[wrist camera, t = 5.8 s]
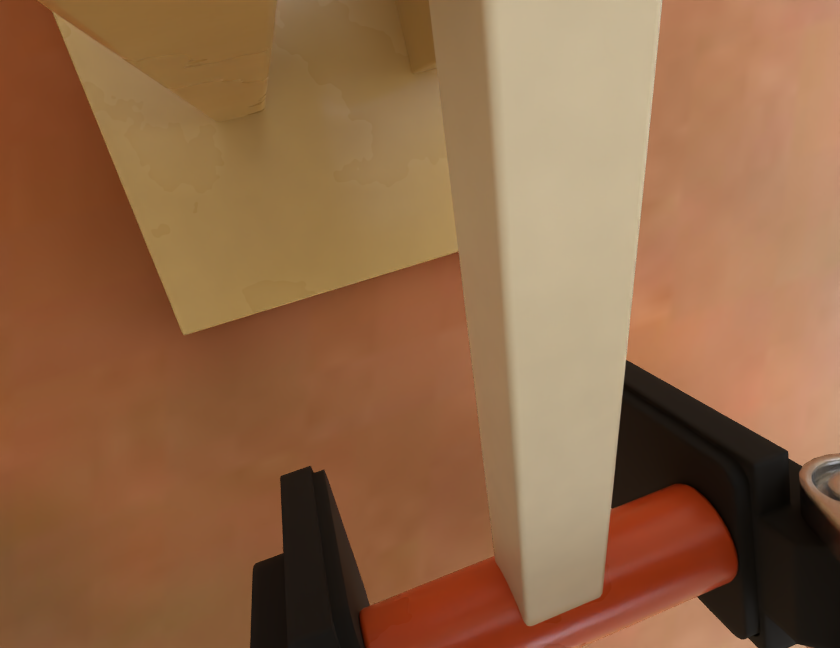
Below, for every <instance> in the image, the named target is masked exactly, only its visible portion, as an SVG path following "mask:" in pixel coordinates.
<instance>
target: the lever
mask: <svg viewBox="0 0 840 648" xmlns="http://www.w3.org/2000/svg"><path fill="white" fill-rule="evenodd" d="M429 6H430V15H431V23H432V32H433V40H434V49H435V57H436V65H437V74H438V82H439V91H440V99H441V108H442V116H443V125H444V133H445V142H446V150H447V159H448V167H449V175H450V184H451V192H452V201H453V209H454V218H455V226H456V235H457V243H458V252H459V260H460V269H461V277H462V285H463V294H464V302H465V311H466V319H467V328H468V336H469V345H470V353H471V362H472V370H473V379H474V387H475V395H476V404H477V412H478V421H479V429H480V438H481V446H482V455H483V463H484V472H485V480H486V488H487V497H488V505H489V514H490V522H491V531H492V539H493V548H494V556H493V557H491V558H488V559H486V560H483V561H481V562H478V563H476V564H473V565H471V566H468V567H466V568H463V569H461V570H458V571H456V572H453V573H451V574H448V575H446V576H443V577H440V578H438V579H435V580H433V581H430V582H428V583H425V584H423V585H420V586H418V587H415V588H413V589H410V590H408V591H405V592H403V593H400V594H398V595H395V596H393V597H390V598H388V599H385V600H383V601H380V602H378V603H375V604H373V605H370V606H368V607H365V608H363V609H362V610H361V611H360V612H359V622H360V628H361V633H362V638H363V642H364V646H365V648H581V647H583V646H586V645H588V644H590V643H592V642H595V641H597V640H599V639H602V638H604V637H606V636H608V635H611V634H613V633H615V632H618V631H620V630H622V629H624V628H627V627H629V626H631V625H634V624H636V623H638V622H640V621H643V620H645V619H647V618H650V617H652V616H654V615H656V614H659V613H661V612H663V611H666V610H668V609H670V608H672V607H675V606H677V605H679V604H681V603H684V602H686V601H688V600H691V599H693V598H695V597H697V596H700V595H702V594H704V593H707V592H709V591H711V590H713V589H716V588H718V587H720V586H723V585H725V584H727V583H729V582H731V581H732V580H733V579H734V578H735V576H736V575H737V572H738V556H737V552H736V548H735V545H734V542H733V539H732V537H731V535H730V533H729V531H728V529H727V527H726V525H725V523H724V521H723V520H722V518H721V517H720V515H719V513H718V512H717V511H716V509H715V508H714V507H713V506H712V504H711V503H710V502H709V501H708V500H707V499H706V498H705V497H704V496H703V495H702V494H701V493H700V492H699V491H697V490H696V489H694V488H693V487H691V486H689V485H686V484H673V485H671V486H668V487H666V488H663V489H661V490H658V491H656V492H653V493H651V494H648V495H646V496H643V497H641V498H638V499H636V500H633V501H631V502H628V503H626V504H623V505H621V506H618V507H616V508H613V509H611V503H612V493H613V484H614V474H615V464H616V454H617V444H618V434H619V424H620V414H621V404H622V395H623V385H624V375H625V365H626V355H627V345H628V335H629V325H630V315H631V306H632V296H633V286H634V276H635V266H636V256H637V246H638V236H639V227H640V217H641V207H642V197H643V187H644V177H645V167H646V157H647V147H648V138H649V128H650V118H651V108H652V98H653V88H654V78H655V68H656V58H657V49H658V39H659V29H660V19H661V9H662V0H429Z"/></svg>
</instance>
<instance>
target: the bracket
mask: <svg viewBox="0 0 840 648" xmlns="http://www.w3.org/2000/svg"><path fill="white" fill-rule="evenodd" d="M37 1H38V2H40V3H41V4H43V5H44V6H45V7H47V8H48V9H50V10H51V11H52V13H53V15H54V18H55V20H56V23H57V25H58V27H59V30H60V32H61V35H62V37H63V40H64V42H65V45H66V47H67V50H68V52H69V55H70V57H71V60H72V62H73V65H74V67H75V69H76V72H77V74H78V77H79V79H80V82H81V84H82V87H83V89H84V92H85V94H86V97H87V99H88V102H89V104H90V107H91V109H92V111H93V114H94V116H95V119H96V121H97V124H98V126H99V129H100V131H101V134H102V136H103V139H104V141H105V144H106V146H107V149H108V151H109V153H110V156H111V158H112V161H113V163H114V166H115V168H116V171H117V173H118V176H119V178H120V181H121V183H122V186H123V188H124V191H125V193H126V195H127V198H128V200H129V203H130V205H131V208H132V210H133V213H134V215H135V218H136V220H137V223H138V225H139V228H140V230H141V233H142V235H143V237H144V240H145V242H146V245H147V247H148V250H149V252H150V255H151V257H152V260H153V262H154V265H155V267H156V270H157V272H158V275H159V277H160V279H161V282H162V284H163V287H164V289H165V292H166V294H167V297H168V299H169V302H170V304H171V307H172V309H173V312H174V314H175V317H176V319H177V321H178V324H179V326H180V329H181V331H182V334H183V335H188V334H191V333H194V332H197V331H201V330H204V329H207V328H211V327H214V326H217V325H220V324H224V323H227V322H230V321H233V320H237V319H240V318H243V317H247V316H250V315H253V314H256V313H260V312H263V311H266V310H269V309H273V308H276V307H279V306H283V305H286V304H289V303H292V302H296V301H299V300H302V299H305V298H309V297H312V296H315V295H319V294H322V293H325V292H328V291H332V290H335V289H338V288H341V287H345V286H348V285H351V284H355V283H358V282H361V281H364V280H368V279H371V278H374V277H378V276H381V275H384V274H387V273H391V272H394V271H397V270H400V269H404V268H407V267H410V266H414V265H417V264H420V263H423V262H427V261H430V260H433V259H436V258H440V257H443V256H446V255H450V254H453V253H456V252H458V243H457V235H456V226H455V218H454V209H453V201H452V192H451V184H450V175H449V167H448V159H447V150H446V142H445V133H444V125H443V116H442V108H441V99H440V91H439V82H438V74H437V65H436V57H435V49H434V40H433V32H432V23H431V15H430V6H429V0H37Z"/></svg>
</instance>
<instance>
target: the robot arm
mask: <svg viewBox="0 0 840 648" xmlns="http://www.w3.org/2000/svg"><path fill="white" fill-rule="evenodd" d="M280 481H281V505H282V528H283V552H284V553H283V554H280V555H277V556H275V557H272V558H269V559H266V560H264V561H261V562H258V563H256V564H255V565H254V567H253V581H252V610H251V640H250V648H365V646H364V642H363V638H362V633H361V628H360V622H359V612H360V611H361V610H362V609H363V608H365V607H368V606H370V605H369V602H368V598H367V594H366V591H365V588H364V585H363V582H362V579H361V576H360V573H359V570H358V567H357V564H356V561H355V558H354V555H353V552H352V549H351V546H350V543H349V540H348V538H347V535H346V532H345V529H344V526H343V523H342V520H341V517H340V514H339V511H338V508H337V505H336V502H335V499H334V496H333V493H332V490H331V487H330V484H329V481H328V478H327V476H326V473H325V471H324V470H321V471H319V472H316V473H313V470H312V468H311V466H309V467H306V468H303V469H300V470H297V471H294V472H291V473H288V474H285V475H282V476H281V478H280ZM673 484H686V485H689V486H691V487H693V488H694V489H696V490H697V491H699V492H700V493H701V494H702V495H703V496H704V497H705V498H706V499H707V500H708V501H709V502H710V503H711V504H712V506H713V507H714V508H715V509H716V511H717V512H718V513H719V515H720V517H721V518H722V520H723V521H724V523H725V525H726V527H727V529H728V531H729V533H730V535H731V537H732V539H733V542H734V545H735V548H736V552H737V556H738V572H737V575H736V576H735V578H734V579H733V580H732V581H731V582H729V583H727V584H725V585H723V586H720V587H718V588H716V589H713V590H711V591H709V592H707V593H704V594H702V595H700V596H697V597H698V598H699V599H700V600H701V601H702V602H703V603H704V605H705V606H706V607H707V608H708V609H709V610H710V611H711V612H712V613H713V614H714V615H715V616H716V617H717V618H718V619H719V620H720V621H721V622H722V623H723V624H724V625H725V626H726V627H727V628H728V629H729V630H730V631H731V632H732V633H733V634H734V635H735V636H736V637H738V638H740V639H746V638H749V639H750V640H751V641H752V642H753V643H754V644H755V645H756V646H757V647H758V648H789V647H791V646H793V645H795V644H800V645H804V646H806V647H807V648H840V453H839V454H828V455H824V456H821V457H817V458H814V459H812V460H811V461H809V462H807V463H806V464H804V466H803V467H802V466H801V465H799V464H797V463H795V462H794V461H792V460H790V459H788V451H787V450H785V449H783V448H781V447H779V446H778V445H776V444H774V443H772V442H771V441H769V440H767V439H765V438H764V437H762V436H760V435H758V434H756V433H755V432H753V431H751V430H749V429H748V428H746V427H744V426H742V425H741V424H739V423H737V422H735V421H733V420H732V419H730V418H728V417H726V416H725V415H723V414H721V413H719V412H718V411H716V410H714V409H712V408H710V407H709V406H707V405H705V404H703V403H702V402H700V401H698V400H696V399H695V398H693V397H691V396H689V395H687V394H686V393H684V392H682V391H680V390H679V389H677V388H675V387H673V386H672V385H670V384H668V383H666V382H664V381H663V380H661V379H659V378H657V377H656V376H654V375H652V374H650V373H649V372H647V371H645V370H643V369H641V368H640V367H638V366H636V365H634V364H633V363H631V362H629V361H627V360H626V365H625V375H624V385H623V395H622V404H621V414H620V424H619V434H618V444H617V454H616V464H615V474H614V484H613V493H612V503H611V508H612V509H613V508H616V507H618V506H621V505H623V504H626V503H628V502H631V501H633V500H636V499H638V498H641V497H643V496H646V495H648V494H651V493H653V492H656V491H658V490H661V489H663V488H666V487H668V486H671V485H673Z"/></svg>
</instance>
